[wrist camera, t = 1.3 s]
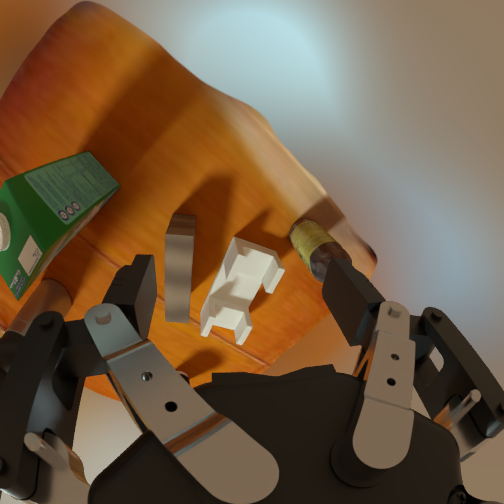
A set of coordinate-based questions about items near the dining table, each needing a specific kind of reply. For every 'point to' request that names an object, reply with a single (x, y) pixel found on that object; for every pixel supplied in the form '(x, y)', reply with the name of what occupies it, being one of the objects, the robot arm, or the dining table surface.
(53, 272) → the dining table surface
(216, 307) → the white notched block
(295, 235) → the sauce bottle
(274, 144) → the dining table surface
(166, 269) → the grey tapered panel
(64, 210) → the milk carton
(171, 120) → the dining table surface
